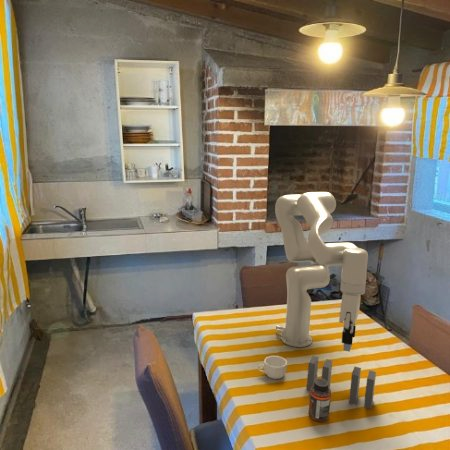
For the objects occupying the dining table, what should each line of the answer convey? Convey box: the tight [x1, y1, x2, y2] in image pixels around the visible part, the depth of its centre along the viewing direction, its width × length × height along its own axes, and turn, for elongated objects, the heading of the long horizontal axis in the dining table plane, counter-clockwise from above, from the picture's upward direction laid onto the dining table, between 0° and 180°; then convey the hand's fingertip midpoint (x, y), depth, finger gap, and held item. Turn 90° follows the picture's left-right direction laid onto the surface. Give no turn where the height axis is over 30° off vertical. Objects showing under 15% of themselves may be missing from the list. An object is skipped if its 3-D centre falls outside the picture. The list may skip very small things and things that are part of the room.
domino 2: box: [321, 358, 333, 390], centre depth 131 cm, size 2×5×10 cm, turn 153°
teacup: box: [257, 355, 288, 380], centre depth 140 cm, size 10×8×5 cm
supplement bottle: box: [308, 377, 332, 423], centre depth 119 cm, size 6×6×11 cm
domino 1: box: [306, 355, 320, 392], centre depth 133 cm, size 2×5×10 cm, turn 153°
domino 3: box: [343, 321, 355, 353], centre depth 132 cm, size 2×5×10 cm, turn 154°
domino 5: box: [363, 370, 377, 410], centre depth 125 cm, size 2×5×10 cm, turn 153°
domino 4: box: [348, 366, 362, 406], centre depth 127 cm, size 2×5×10 cm, turn 153°
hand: (348, 339), depth 132 cm, fingers closed on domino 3, 4 cm apart
